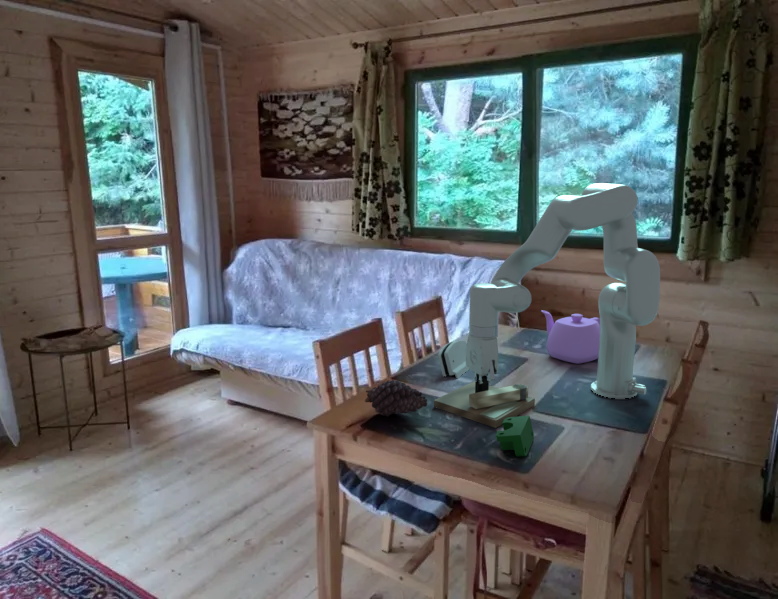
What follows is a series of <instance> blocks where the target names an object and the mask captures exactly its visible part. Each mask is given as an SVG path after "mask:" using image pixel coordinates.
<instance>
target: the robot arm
mask: <svg viewBox="0 0 778 599" xmlns="http://www.w3.org/2000/svg"><path fill="white" fill-rule="evenodd" d="M637 205H638V195H637V192H636V191H635V190H634V188H633V187H631V186H630V185H626V184H623V183H622V184H621V183H607V182H599V183H597V182H596V183H592V184H589V185H588V186H586V187H585V188H584V189H583V191H582V193H581V195H571V194H570V195H568V194H567V195H566V194H565V195H564V194H563V195H559V196H556V197H555V198H553V199H552V200H551V201H550V203H549V204H548V206H547V207H546V209H545V211H544V212H543V214H542V215H541V217H540V219H539V220H538V221H537V223H536V225H535V227H534V229H533V230H532V231H531V233H530V235H529V236H528V238H527V239H526V241H525V242H524V243H523V244H522V245H520V246H519V247H518V248H517V249H515V251H513V252H512V253H511V254H510V255H509V256H508V257H507V258H506V259H505V260H504V261H503V262H502V263H501V265H500V267H499V268H498V270H497V271H496V272H495V275H494V276H493V278H492V279H491V281H490V282H489V283H488V282H487V283H486V282H480V283H475V284H472V285H471V287H470V290H469V312H468V313H469V315H468V316H469V320H468V328H469V329H468V335H467V339H466V340H467V341H466V343H467V347H466V366H467V367H468V368H469V370H471V371H472V372H473V373H474V375H473V376H474V381H476V382H475V393H478V392H483V391H488V390H489V383H490V382H491V381H495V375H497V373H498V371H499V345H498V336H499V335H498V334H499V313H500V312H501V313H502V312H503V313H513V314H515V313H516V314H517V313H522V312H525V311H526V310H527V309H528V308H529V307H530V306H531V303H532V294H531V292H530V290H529V289H528V288H527V287H525V286H524V285H522V284H521V283H520V282H521V281H522V279H523V278H524V277H525V276H526V274H528V272H530V271H531V270H532V269H535V268H537V267H538V266H540V265H541V266H542V265H543V264H546V263H549V262H550V261H552V260H553V259H555V258H556V256H557V255H558V253H559V251H560V250H561V248H562V246H564V244H565V242H566V241H567V238H568V237H569V235H570V234H571V232H572V231H573V230H574V231H580V232H581V231H587V230H592V229H595V228H598V227H599V228H600V227H601V228H602V233H603V234H602V235H603V236H602V237H603V269H604V272H605V274H606V275H607V276H609V277H610V278H612V279H615V280H618V281H621V282H612V283H609V284H607V285H605V286H604V287H603V288H602V290H601V291H600V293H599V295H598V312H599V319H600V325H599V326H600V338H599V353H598V358H597V369H596V370H597V371H596V380H595V381H593V382H592V383H591V384H590V390H592V391H593V392H592V391H591V392H592V393H594V394H595V393H596V394H595V395H597V394H598V395H597V396H599V395H601V396H600V397H602V396H604V397H603V398H606V397H608V398H607V399H611V398H615V399H614V400H626V399H625V398H629V399H632V398H631V397H633V398H635V397H636V396H638V394H641V395H646V393H647V387H646V385H645V384H641V383H638V382H637V377H635V376H634V374H633V373H634V365H635V364H634V362H635V350H636V340H637V328H636V326H638V327H639V326H647V325H649V324H650V323H652V322H653V321H654V320H655V318H656V317H657V314H658V312H659V309H660V299H661V298H660V297H661V291H660V290H661V268H660V263H659V260H658V258H657V256H656V255H655V254H654V253H653V252H652V251H650V250H647V249H644V248H640V247H639V245H638V230H637V221H636V218H635V216H634V214H633V212H634V211H635V209H636V208H637ZM623 282H624V283H623ZM633 376H634V377H633ZM634 396H635V397H634Z"/></svg>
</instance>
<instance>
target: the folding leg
mask: <svg viewBox="0 0 778 599" xmlns="http://www.w3.org/2000/svg"><path fill="white" fill-rule="evenodd" d="M497 388H498V389H493V390H488V391H483V392H478V393H473V394H469V405H470V406H472V407H473V408H475V409H479V408H484V407H488V406H493V405H498V404H502V403H507V402H512V401H517V400H524V399H526V398H528V397H529V387H528V386H527V385H525V384H522V383H515V384H513V385H510V386H509V385H508V386H503V387H497Z"/></svg>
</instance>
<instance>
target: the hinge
mask: <svg viewBox="0 0 778 599" xmlns="http://www.w3.org/2000/svg"><path fill="white" fill-rule="evenodd" d="M466 347H467V341H465V340H455V341H452V342H448V343H447V344H445V345H444V346H442V348H441V349H440V351H439V352H438V355H437V357H438V362H439V367H440V370H441V374H442V377H444V376H445V377H447V376H454V375H455V378H458V379H460V376H461V375H462V374H463V375H465V374H466V373H467V372H468V371H470V369H469V368H468V367H467V366H466ZM466 371H467V372H466ZM465 372H466V373H465ZM463 375H462V376H463ZM462 376H461V377H462Z"/></svg>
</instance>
